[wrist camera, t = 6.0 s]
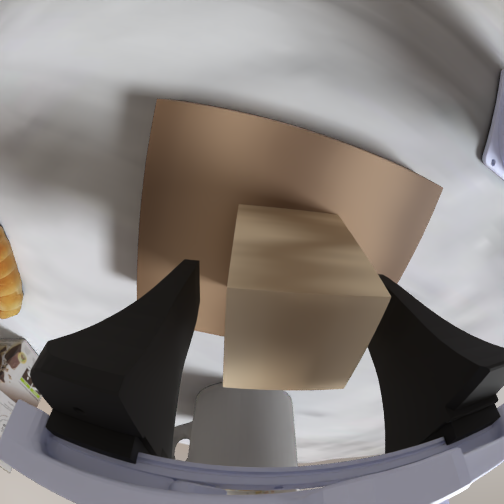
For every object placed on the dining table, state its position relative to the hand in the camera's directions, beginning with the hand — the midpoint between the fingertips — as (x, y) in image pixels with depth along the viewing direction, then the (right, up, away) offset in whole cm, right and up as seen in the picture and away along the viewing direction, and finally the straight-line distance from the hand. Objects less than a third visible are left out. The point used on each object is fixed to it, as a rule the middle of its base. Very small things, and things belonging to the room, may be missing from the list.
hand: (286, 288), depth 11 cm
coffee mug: (-4, -14, +15) cm, 21 cm away
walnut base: (0, +3, +5) cm, 5 cm away
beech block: (0, +1, +2) cm, 2 cm away
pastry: (-25, 0, +7) cm, 26 cm away
